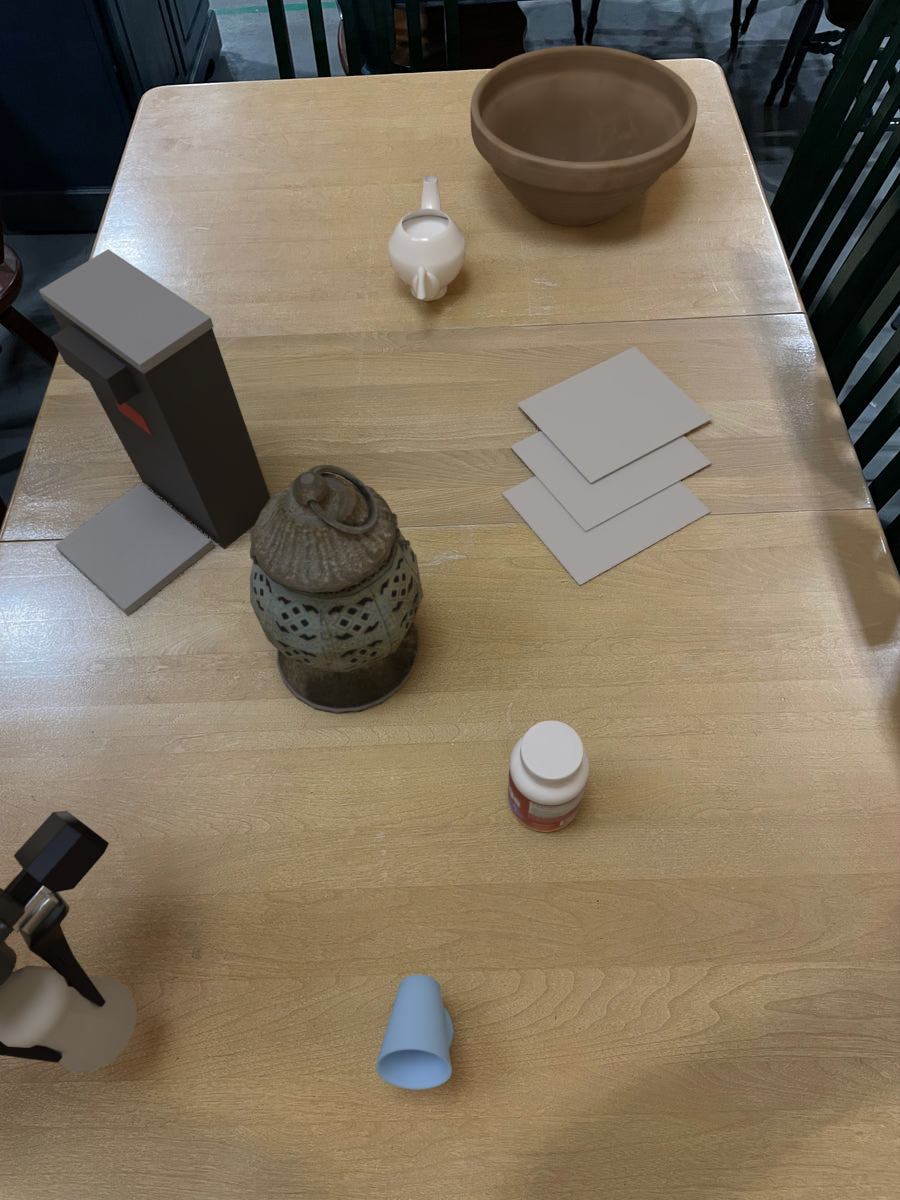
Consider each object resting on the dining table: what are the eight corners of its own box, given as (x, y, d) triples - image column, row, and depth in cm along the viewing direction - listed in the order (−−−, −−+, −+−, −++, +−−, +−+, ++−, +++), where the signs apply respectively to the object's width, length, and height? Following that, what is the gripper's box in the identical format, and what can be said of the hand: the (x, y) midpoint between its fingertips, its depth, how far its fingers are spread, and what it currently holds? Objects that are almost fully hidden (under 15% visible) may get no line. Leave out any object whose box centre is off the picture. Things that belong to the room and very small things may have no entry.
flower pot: (679, 143, 123) (698, 45, 112) (677, 268, 109) (699, 169, 97) (485, 135, 127) (485, 39, 115) (458, 255, 112) (455, 158, 101)
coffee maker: (134, 622, 83) (14, 448, 62) (53, 546, 89) (-84, 362, 67) (276, 508, 90) (210, 317, 69) (192, 444, 96) (107, 248, 74)
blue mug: (455, 1093, 61) (457, 988, 65) (450, 1087, 52) (452, 967, 56) (386, 1091, 61) (392, 987, 65) (370, 1085, 53) (378, 965, 56)
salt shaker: (164, 1009, 59) (92, 982, 48) (109, 1092, 57) (20, 1083, 46) (101, 965, 61) (17, 930, 50) (45, 1044, 58) (-56, 1024, 47)
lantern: (319, 569, 86) (264, 384, 65) (449, 612, 82) (436, 433, 61) (251, 685, 79) (164, 522, 58) (389, 738, 76) (351, 585, 55)
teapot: (385, 342, 103) (376, 276, 95) (399, 240, 114) (392, 174, 106) (463, 342, 103) (461, 277, 95) (470, 240, 113) (469, 173, 105)
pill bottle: (509, 760, 74) (512, 707, 65) (580, 766, 74) (594, 712, 64) (505, 831, 71) (507, 785, 61) (579, 837, 70) (593, 791, 61)
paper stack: (771, 477, 90) (773, 473, 89) (579, 585, 83) (580, 581, 83) (633, 351, 101) (634, 346, 100) (454, 438, 94) (454, 433, 94)
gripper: (-321, 1119, 36) (-22, 1263, 42) (14, 770, 44) (226, 933, 50) (-285, 1025, 46) (-43, 1154, 51) (-12, 750, 53) (170, 889, 59)
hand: (81, 1029), depth 53 cm, fingers closed on salt shaker, 3 cm apart
